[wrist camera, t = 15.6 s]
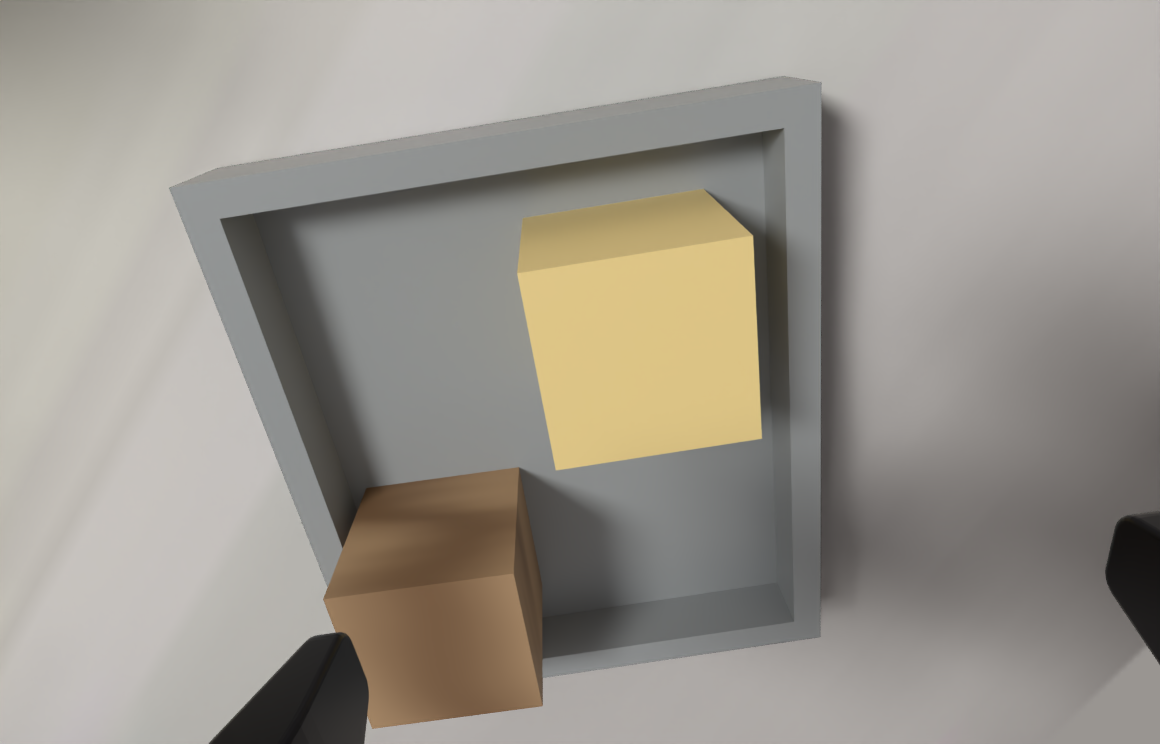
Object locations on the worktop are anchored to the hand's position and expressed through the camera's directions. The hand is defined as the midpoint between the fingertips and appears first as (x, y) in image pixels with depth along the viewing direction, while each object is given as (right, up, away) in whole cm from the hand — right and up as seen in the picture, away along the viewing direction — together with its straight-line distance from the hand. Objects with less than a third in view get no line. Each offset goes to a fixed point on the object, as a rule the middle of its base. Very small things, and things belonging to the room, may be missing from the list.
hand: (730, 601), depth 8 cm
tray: (-3, +2, +12) cm, 13 cm away
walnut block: (-6, -2, +13) cm, 15 cm away
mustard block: (-1, +5, +10) cm, 11 cm away
